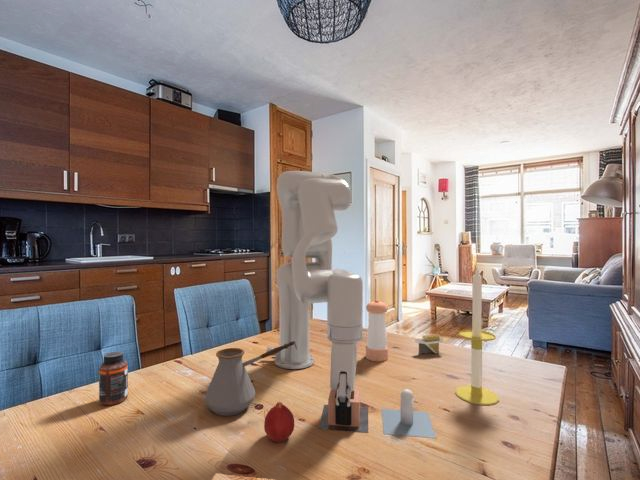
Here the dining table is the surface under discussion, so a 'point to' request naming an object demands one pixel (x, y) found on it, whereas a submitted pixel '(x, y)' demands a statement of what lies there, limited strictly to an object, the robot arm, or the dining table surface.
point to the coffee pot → (233, 381)
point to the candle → (476, 351)
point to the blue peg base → (407, 419)
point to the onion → (279, 423)
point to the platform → (429, 344)
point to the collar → (354, 407)
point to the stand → (362, 426)
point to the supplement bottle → (113, 379)
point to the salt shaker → (376, 332)
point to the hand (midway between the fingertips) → (344, 413)
